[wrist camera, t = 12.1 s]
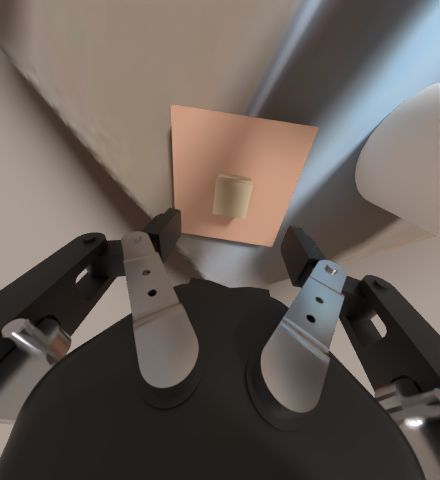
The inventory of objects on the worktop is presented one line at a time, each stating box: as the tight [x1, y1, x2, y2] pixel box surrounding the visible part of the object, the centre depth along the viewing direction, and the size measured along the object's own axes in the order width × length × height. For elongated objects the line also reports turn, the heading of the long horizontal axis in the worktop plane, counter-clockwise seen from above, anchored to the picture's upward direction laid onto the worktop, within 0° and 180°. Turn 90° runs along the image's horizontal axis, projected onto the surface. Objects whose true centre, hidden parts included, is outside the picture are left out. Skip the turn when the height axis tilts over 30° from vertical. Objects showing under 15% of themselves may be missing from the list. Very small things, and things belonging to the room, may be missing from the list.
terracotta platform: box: [171, 105, 319, 247], centre depth 28 cm, size 20×20×4 cm
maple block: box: [213, 173, 253, 219], centre depth 24 cm, size 5×5×5 cm
